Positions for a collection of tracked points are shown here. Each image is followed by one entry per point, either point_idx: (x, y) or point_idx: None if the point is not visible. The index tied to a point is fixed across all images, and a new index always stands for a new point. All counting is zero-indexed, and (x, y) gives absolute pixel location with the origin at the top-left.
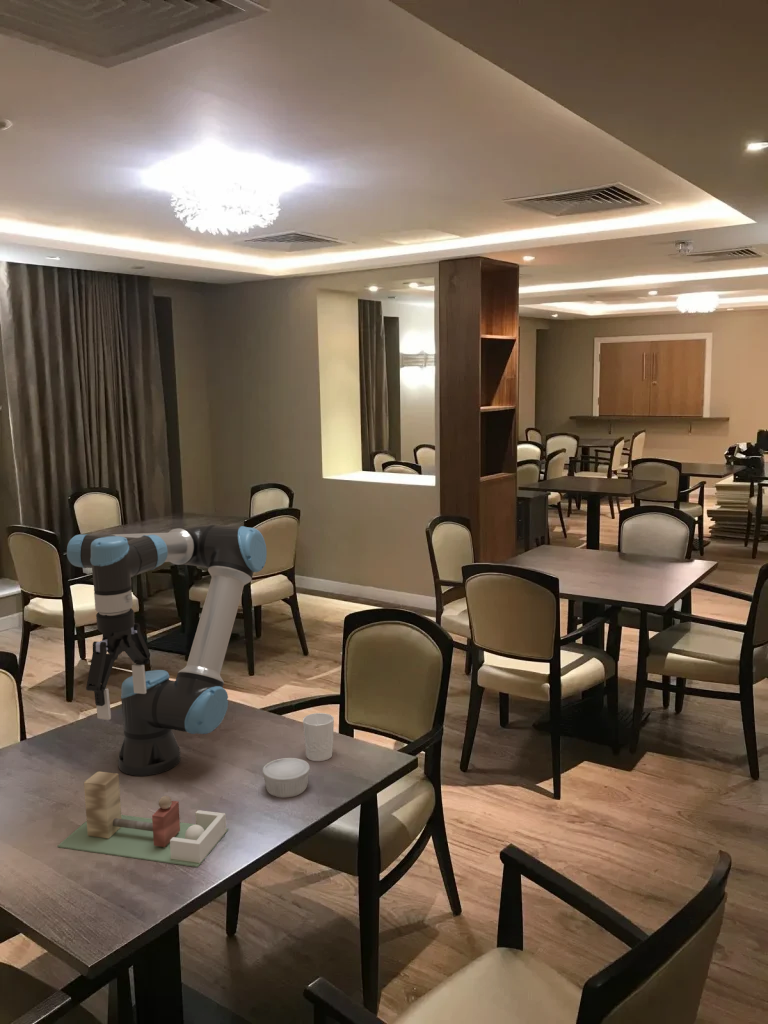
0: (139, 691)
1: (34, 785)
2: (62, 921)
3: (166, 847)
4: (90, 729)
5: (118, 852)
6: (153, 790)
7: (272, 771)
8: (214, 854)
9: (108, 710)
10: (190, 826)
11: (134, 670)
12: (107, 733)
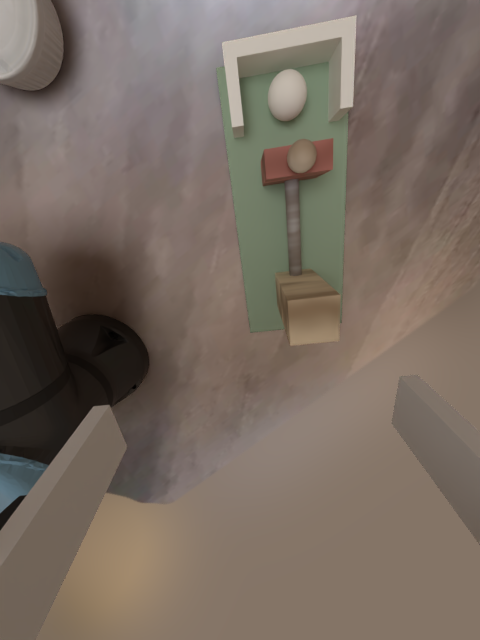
0: (113, 433)
1: (223, 437)
2: None
3: None
4: None
5: (339, 228)
6: (165, 299)
7: (10, 29)
8: None
9: (451, 409)
10: (289, 101)
11: (43, 593)
12: None
